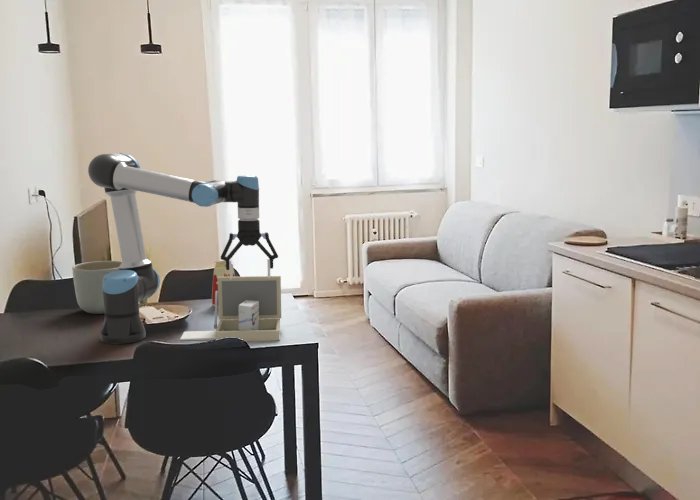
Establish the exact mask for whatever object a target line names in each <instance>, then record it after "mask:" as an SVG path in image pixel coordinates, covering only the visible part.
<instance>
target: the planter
mask: <svg viewBox="0 0 700 500" xmlns="http://www.w3.org/2000/svg"><path fill="white" fill-rule="evenodd" d="M121 263H122V261H118V260H97V261H88V262H82V263H77V264H75V265H73V266H72V280H73V285H74V293H75V297H76V302H77V305H78V306H79V308H80V309H81V310H82V311H84V312H85V313H87V314H92V315H105V314H104V300H103V289H102V285H103V278H104V276H105V275H106V274H108V273H110V272H115V271H118V270H119V266H120V265H121Z"/></svg>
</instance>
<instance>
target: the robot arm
mask: <svg viewBox="0 0 700 500" xmlns="http://www.w3.org/2000/svg"><path fill="white" fill-rule="evenodd" d="M87 168H88V170H87V172H88V173H87V174H88V176H89V178H90V180H91V182H92V183H93V184H94V185H96V186H98V187H100V188H104V193H105V195H106V196H107V195H108V197H109V198H110V201H111V207H112V212H113V217H114V223H115V228H116V233H117V234H116V235H117V240H118V245H119V250H120V251H119V252H120V256H121V262H122V263H121V265H120V266H119V270H118V271H115V272H110V273H108V274H106V275H105V276H104V278H103V285H102V289H103V300H104V314H103V315H104V320H103V323H102V327H101V330H100V337H99V338H100V341H101V343H102V342H103V343H104V344H109V345H125V344H129V343H135V342H139V341H142V340H143V339H145V338H146V336H147V335H146V328H145V326H144V323H143V320H142V319H141V318H142V317H141V316H140V302H143V301H144V300H147V299H149V298H151V297H152V296H153V295H154V294H155V293H157V291H158V289H159V287H160V280H161V279H160V275H159V273H158V271H157V270H156V269H154V267H153V263H152V261H151V260H150V259H148V257H147V254H146V248H145V241H144V236H143V232H142V225H141V220H140V213H139V209H138V203H137V197H136V193H137V192H142V193H147V194H152V195H155V196H156V195H157V196H161V197H166V198H171V199H176V200H180V201H185V202H189V203H193V204H196V205H197V206H198V207H205V208H207V207H211V206H213V205H216V204H220V203H237V219H238V221H237V230H238V231H237V233H232V232H230V233H229V237H228V240H227V243H226V244H225V247H224V249H223V251H222V253H221V255H220V259H221V261H224V260H225V261H226V270H229V272H230V280H232V265H233V264H232V260H231V259H232V258H233V256H234V255H235V254H236V253H237V252H238V250H239V249H240V248H241V247H242V246H245V247H248V246H251V247H253V246H257V247H259V249H260V250H261V251H262V252H263V253H264V254H265V255H266V257H267V276H268V278H270V276H271V269H274V260H276V259H278V258H279V254H278V253H277V250H276V249H275V247H274V245H273V244H272V242H271V240H270V236H269V232H268V231H266V232H262V233H261V230H260V220H259V218H260V187H259V186H260V185H259V178H258V176H256V175H250V174H249V175H246V174H245V175H241V174H240V175H238V176H237V177H236V180H231V181H230V180H206V181H201V180H196V179H190V178H187V177H181V176H176V175H171V174H167V173H162V172H157V171H152V170H147V169H144V168H141V166H140V164H139V162H138V160H136V158H135V157H133V156H132V155H130V154H127V153H122V152H120V153H119V152H117V153H116V152H115V153H102V154H99V155H97V156H95V157H93V158H92V159H91V161H90V162H89V165H88V167H87ZM261 237H262V238H263V239H264V240H265V241H266V243H267V245H268V247H269V248H270V250H271V252H272V254H271V253H270V252H269V251H268V250H267V249H266V247H265V246H264V245H263V244H262V243H261V242H260V241H259V240H260V239H261ZM236 238H237V239H238V242H237V244H236V245H235V247H234V248H233V249H232V250H231V251H230V252H229V253H228V251H229V249H230V248H231V245H232V243H233V241H234V240H236ZM227 253H228V255H227ZM231 264H232V265H231Z"/></svg>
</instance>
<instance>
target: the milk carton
mask: <svg viewBox="0 0 700 500" xmlns="http://www.w3.org/2000/svg"><path fill="white" fill-rule="evenodd" d="M214 263H215V265H214V267H213V275H212V277H213V278H212V288H211V289H212V291H211V292H212V293H211V306H213V307H215V292H216V291H218V277H230V272H229V270H226V261H225V260H221V261H220V260H219V261H217V260H216V261H214ZM231 265H232V277H236V273H235V268H234V265H233V263H231ZM217 308H219V306H217Z"/></svg>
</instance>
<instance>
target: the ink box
mask: <svg viewBox="0 0 700 500" xmlns="http://www.w3.org/2000/svg"><path fill="white" fill-rule="evenodd" d="M247 330H260V329H259V301H252V300H246V301H244V302H242V303H241V304H239V329H238V331H247Z"/></svg>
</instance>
